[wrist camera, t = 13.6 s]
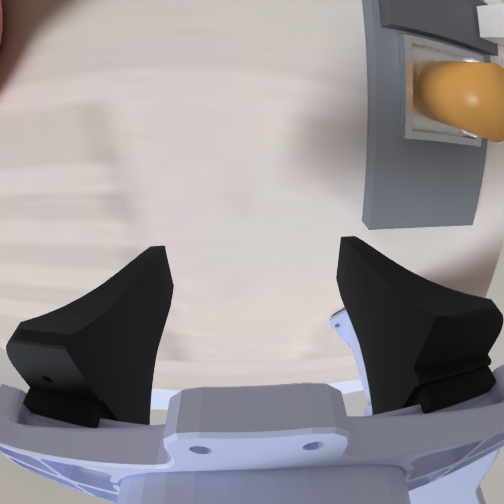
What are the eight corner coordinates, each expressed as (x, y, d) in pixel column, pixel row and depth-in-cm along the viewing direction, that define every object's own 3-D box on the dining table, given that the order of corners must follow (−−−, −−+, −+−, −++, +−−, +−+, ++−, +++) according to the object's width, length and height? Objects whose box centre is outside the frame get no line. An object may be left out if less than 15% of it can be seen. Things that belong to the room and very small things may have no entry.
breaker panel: (463, 217, 22) (482, 233, 19) (362, 220, 22) (376, 240, 19) (471, -4, 12) (494, -8, 9) (356, -38, 12) (372, -53, 9)
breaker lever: (495, 43, 11) (526, 45, 9) (480, 37, 11) (511, 37, 9) (492, 13, 10) (522, 12, 7) (476, 6, 10) (507, 2, 7)
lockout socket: (472, 143, 17) (480, 146, 16) (397, 135, 17) (404, 138, 16) (475, 56, 14) (483, 56, 13) (396, 35, 14) (404, 34, 13)
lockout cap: (472, 107, 16) (525, 123, 11) (433, 133, 17) (484, 155, 12) (448, 52, 14) (503, 53, 9) (405, 75, 15) (457, 79, 10)
